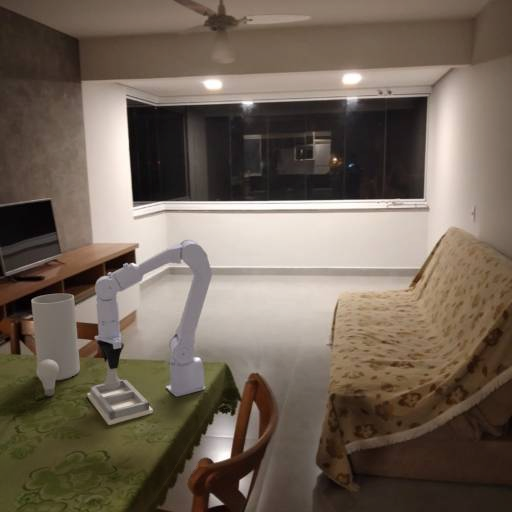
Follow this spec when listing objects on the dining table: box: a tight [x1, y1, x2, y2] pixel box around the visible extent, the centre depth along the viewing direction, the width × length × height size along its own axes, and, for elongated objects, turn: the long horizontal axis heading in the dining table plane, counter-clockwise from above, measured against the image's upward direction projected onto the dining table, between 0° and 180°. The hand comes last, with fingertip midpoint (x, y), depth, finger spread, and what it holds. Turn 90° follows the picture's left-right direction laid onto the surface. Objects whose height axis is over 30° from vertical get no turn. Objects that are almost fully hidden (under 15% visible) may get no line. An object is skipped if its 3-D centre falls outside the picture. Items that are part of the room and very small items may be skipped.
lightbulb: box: [36, 359, 59, 397], centre depth 153 cm, size 6×6×11 cm
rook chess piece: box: [103, 360, 121, 389], centre depth 150 cm, size 4×4×8 cm
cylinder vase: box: [31, 293, 81, 382], centre depth 168 cm, size 12×12×25 cm
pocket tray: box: [87, 378, 154, 426], centre depth 147 cm, size 12×21×3 cm, turn 32°
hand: (111, 366), depth 150 cm, fingers closed on rook chess piece, 3 cm apart
